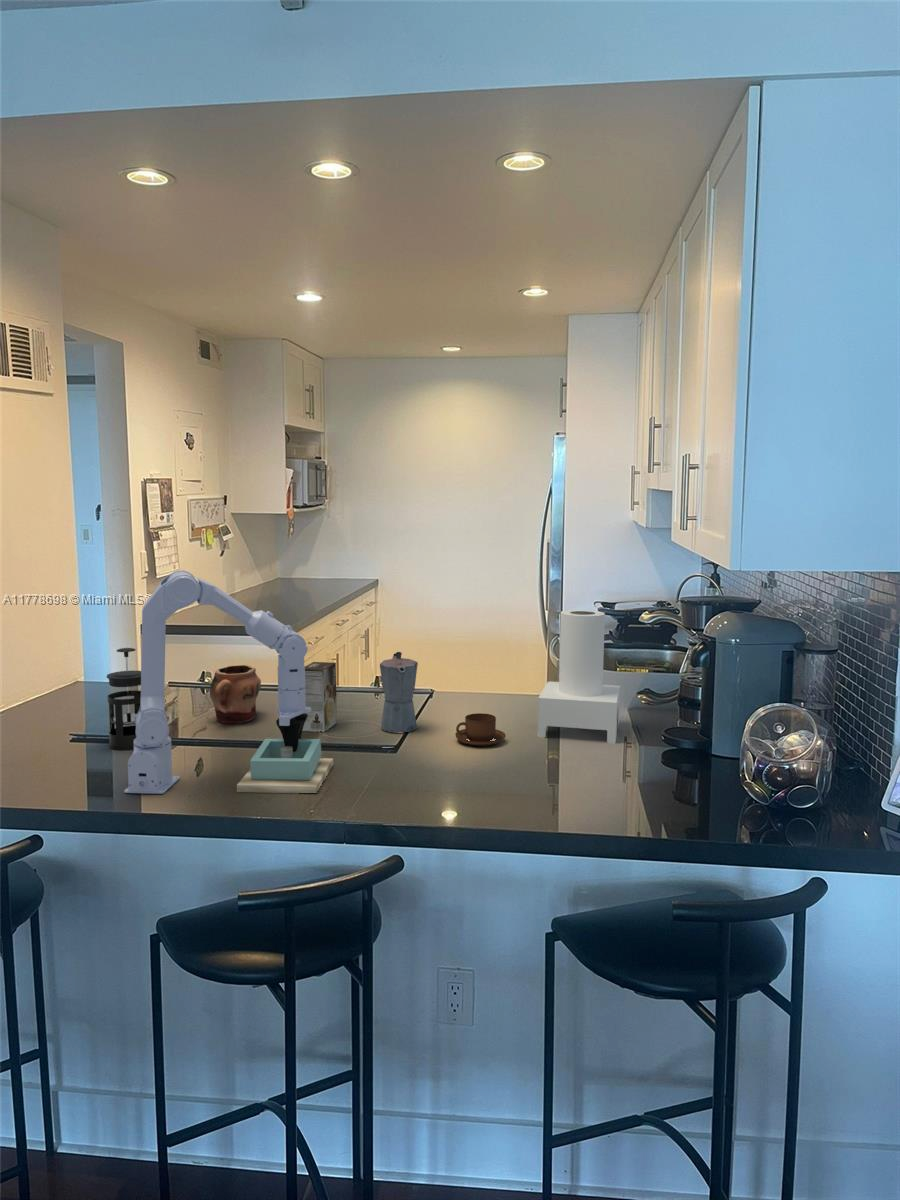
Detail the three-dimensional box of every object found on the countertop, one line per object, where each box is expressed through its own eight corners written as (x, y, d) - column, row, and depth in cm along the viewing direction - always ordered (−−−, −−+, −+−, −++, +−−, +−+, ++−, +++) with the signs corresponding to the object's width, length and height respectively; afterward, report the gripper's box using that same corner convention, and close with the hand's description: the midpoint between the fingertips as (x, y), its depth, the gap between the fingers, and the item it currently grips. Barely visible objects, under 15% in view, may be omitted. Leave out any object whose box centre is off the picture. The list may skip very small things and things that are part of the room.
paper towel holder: (537, 737, 210) (539, 616, 206) (547, 718, 228) (549, 606, 224) (615, 743, 206) (619, 619, 202) (618, 723, 224) (622, 609, 220)
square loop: (309, 779, 173) (308, 761, 172) (251, 779, 174) (250, 760, 173) (321, 756, 185) (320, 739, 184) (266, 756, 186) (265, 738, 185)
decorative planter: (244, 732, 213) (242, 677, 211) (197, 730, 214) (195, 676, 212) (270, 712, 232) (269, 661, 231) (226, 710, 234) (225, 660, 232)
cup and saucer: (478, 752, 198) (478, 726, 197) (445, 740, 207) (445, 716, 207) (515, 743, 206) (515, 718, 205) (482, 732, 215) (482, 708, 214)
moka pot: (385, 738, 208) (384, 657, 206) (373, 721, 223) (373, 646, 221) (423, 735, 211) (423, 655, 209) (409, 719, 226) (409, 644, 223)
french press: (98, 749, 198) (93, 651, 195) (119, 737, 208) (115, 644, 205) (145, 751, 197) (141, 653, 194) (165, 740, 206) (161, 645, 203)
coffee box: (314, 721, 223) (313, 661, 221) (337, 723, 222) (336, 662, 220) (301, 731, 214) (300, 668, 212) (325, 732, 213) (324, 669, 211)
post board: (316, 793, 170) (316, 762, 169) (236, 792, 171) (236, 760, 170) (333, 765, 188) (332, 736, 187) (261, 763, 189) (260, 734, 188)
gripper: (302, 696, 175) (303, 760, 177) (317, 680, 189) (317, 740, 191) (268, 695, 175) (270, 759, 177) (285, 680, 190) (286, 739, 191)
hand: (292, 749), depth 184 cm, fingers closed on square loop, 2 cm apart
